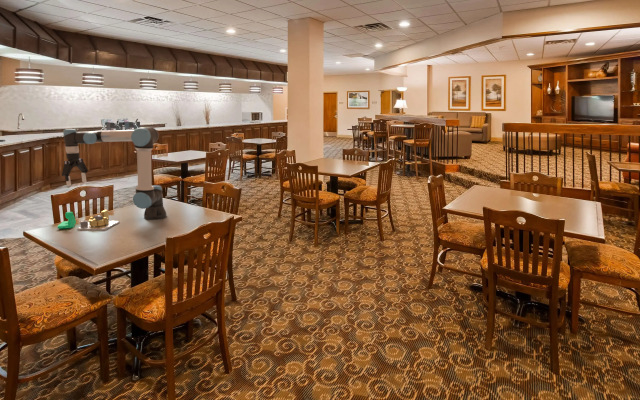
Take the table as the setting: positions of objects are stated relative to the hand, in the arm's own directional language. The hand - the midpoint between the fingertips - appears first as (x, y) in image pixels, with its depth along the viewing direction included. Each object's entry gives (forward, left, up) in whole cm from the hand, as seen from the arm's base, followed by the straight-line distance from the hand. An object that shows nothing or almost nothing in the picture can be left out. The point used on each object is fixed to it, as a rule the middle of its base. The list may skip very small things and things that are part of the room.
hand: (76, 183), depth 273 cm
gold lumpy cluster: (-19, +9, -25) cm, 32 cm away
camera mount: (+1, +14, -27) cm, 30 cm away
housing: (-19, +11, -26) cm, 34 cm away
